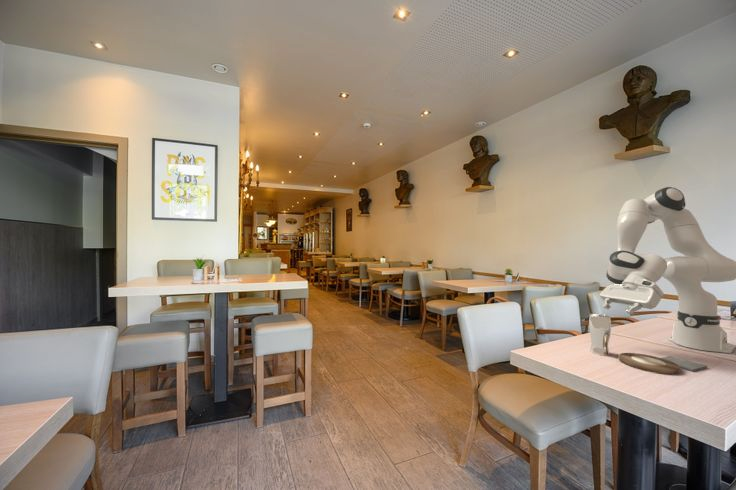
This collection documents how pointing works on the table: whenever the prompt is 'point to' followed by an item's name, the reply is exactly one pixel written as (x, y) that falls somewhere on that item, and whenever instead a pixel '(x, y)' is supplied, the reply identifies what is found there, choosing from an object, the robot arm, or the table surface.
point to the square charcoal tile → (686, 364)
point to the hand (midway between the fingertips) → (616, 310)
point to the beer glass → (600, 333)
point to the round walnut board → (649, 363)
